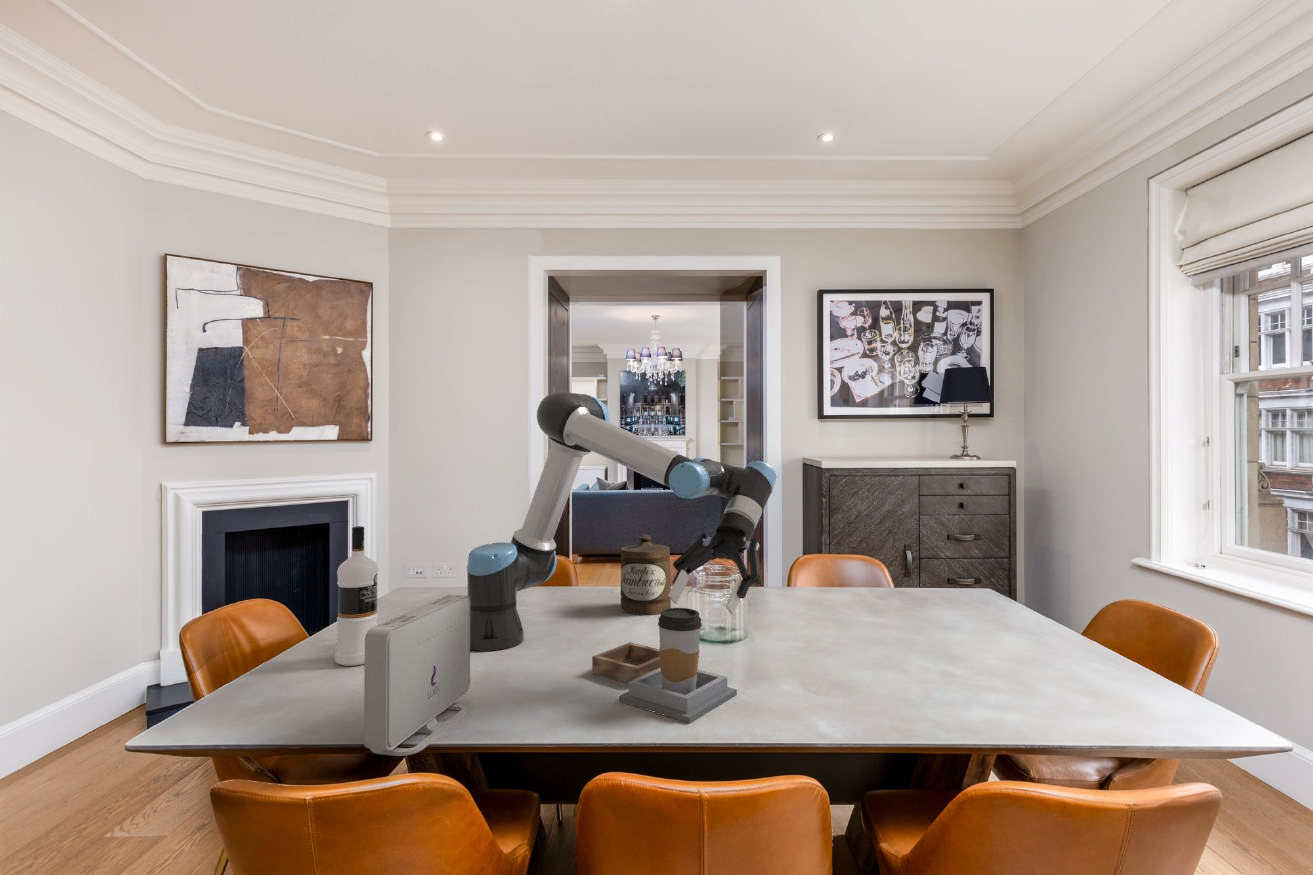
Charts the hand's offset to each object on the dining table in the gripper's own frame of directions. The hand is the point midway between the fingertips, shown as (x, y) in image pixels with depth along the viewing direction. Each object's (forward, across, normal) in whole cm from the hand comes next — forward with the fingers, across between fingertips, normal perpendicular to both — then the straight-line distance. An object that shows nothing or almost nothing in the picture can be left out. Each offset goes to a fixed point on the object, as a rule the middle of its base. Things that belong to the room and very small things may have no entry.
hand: (699, 605), depth 125 cm
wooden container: (-18, +48, -42) cm, 66 cm away
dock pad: (+16, 0, -7) cm, 18 cm away
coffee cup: (+16, 0, -6) cm, 17 cm away
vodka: (+35, +70, +12) cm, 79 cm away
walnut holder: (+12, +16, -11) cm, 23 cm away
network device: (+43, +27, +19) cm, 54 cm away
